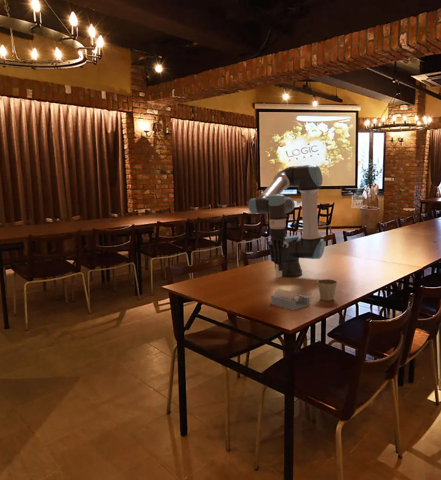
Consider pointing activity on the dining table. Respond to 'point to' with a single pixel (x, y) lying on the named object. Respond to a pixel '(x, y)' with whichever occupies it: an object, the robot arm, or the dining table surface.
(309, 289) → the dining table surface
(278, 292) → the bottle
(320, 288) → the flower pot
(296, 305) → the cradle
